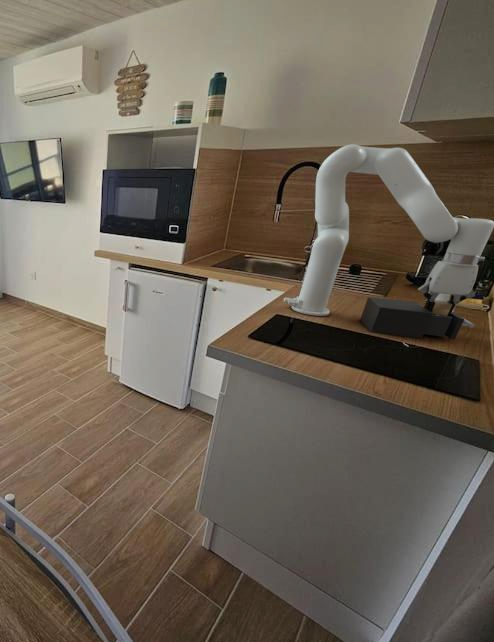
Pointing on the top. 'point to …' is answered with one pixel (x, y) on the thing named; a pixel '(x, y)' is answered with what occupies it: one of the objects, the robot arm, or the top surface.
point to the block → (441, 308)
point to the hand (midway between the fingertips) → (436, 312)
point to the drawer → (446, 325)
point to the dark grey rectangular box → (395, 317)
